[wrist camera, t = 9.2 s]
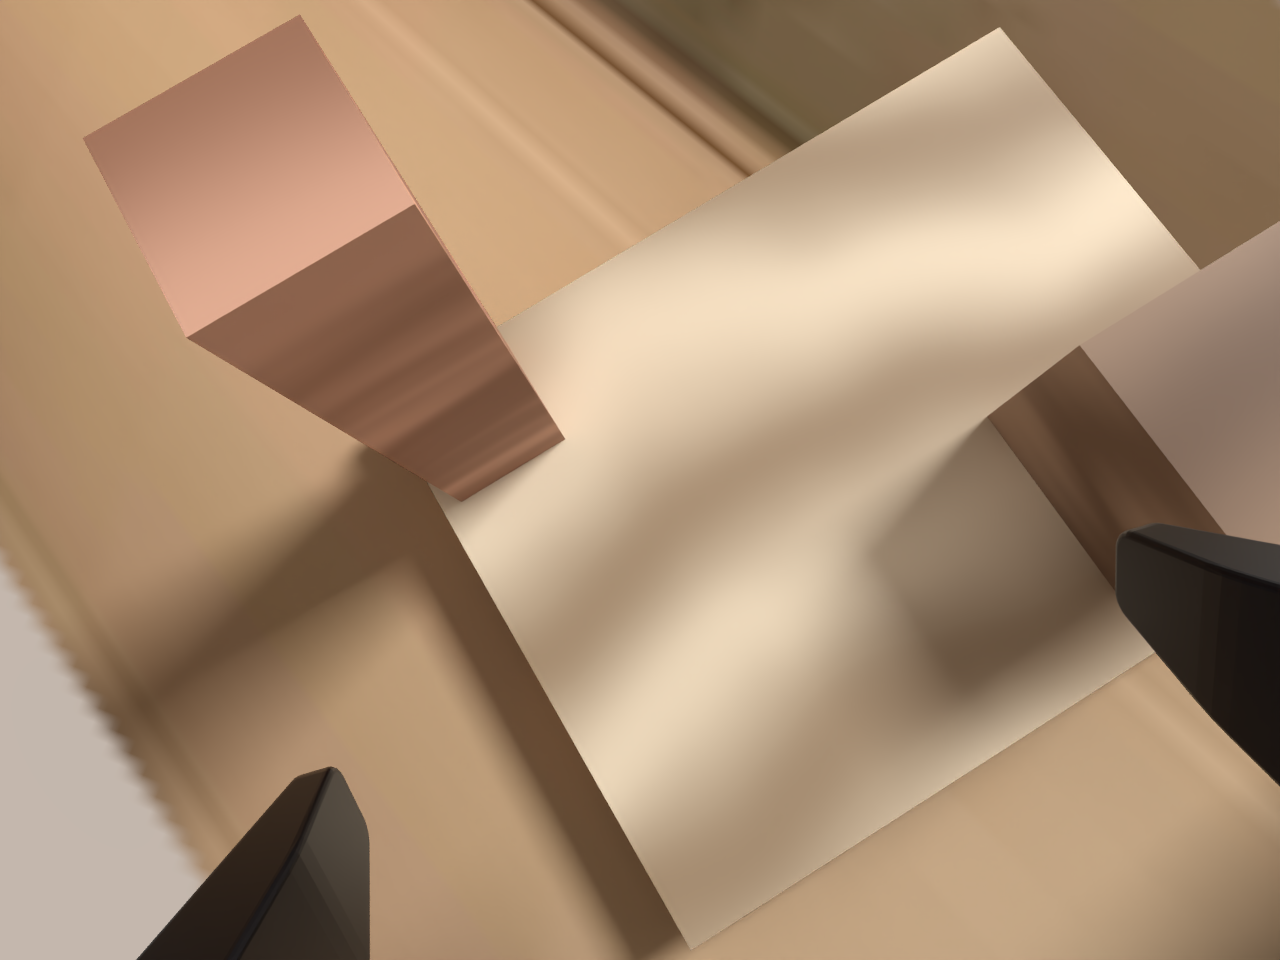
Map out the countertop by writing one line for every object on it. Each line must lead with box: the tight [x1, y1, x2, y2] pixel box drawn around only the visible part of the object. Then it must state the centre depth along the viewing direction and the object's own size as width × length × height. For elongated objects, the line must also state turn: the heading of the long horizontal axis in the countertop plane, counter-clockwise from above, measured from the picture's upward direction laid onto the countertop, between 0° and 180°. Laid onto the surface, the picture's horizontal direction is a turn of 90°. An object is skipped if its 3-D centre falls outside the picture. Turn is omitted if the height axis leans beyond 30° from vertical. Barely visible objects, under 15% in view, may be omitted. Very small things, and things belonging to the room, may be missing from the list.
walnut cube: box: [987, 221, 1280, 590], centre depth 18 cm, size 5×5×5 cm
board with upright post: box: [83, 15, 1200, 950], centre depth 16 cm, size 15×19×13 cm
